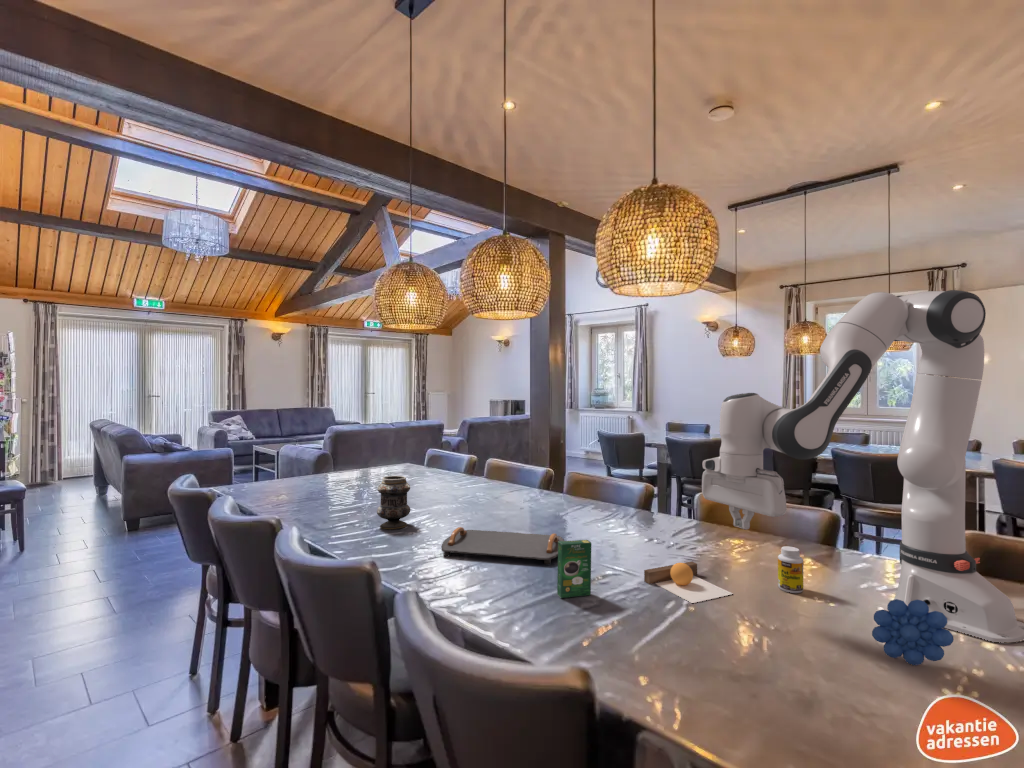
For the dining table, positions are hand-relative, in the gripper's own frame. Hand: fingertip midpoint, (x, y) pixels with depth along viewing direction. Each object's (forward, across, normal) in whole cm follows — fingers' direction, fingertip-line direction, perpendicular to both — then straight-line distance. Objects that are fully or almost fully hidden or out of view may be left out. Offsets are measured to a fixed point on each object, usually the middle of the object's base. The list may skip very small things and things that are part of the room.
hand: (741, 527), depth 112 cm
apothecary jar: (+19, +105, +58) cm, 122 cm away
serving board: (+20, +63, +31) cm, 73 cm away
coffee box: (+19, +24, +29) cm, 42 cm away
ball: (+16, +18, +1) cm, 25 cm away
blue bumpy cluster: (+19, -27, -12) cm, 35 cm away
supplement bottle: (+19, +5, -22) cm, 30 cm away
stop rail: (+19, +23, 0) cm, 30 cm away
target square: (+19, +15, 0) cm, 24 cm away
